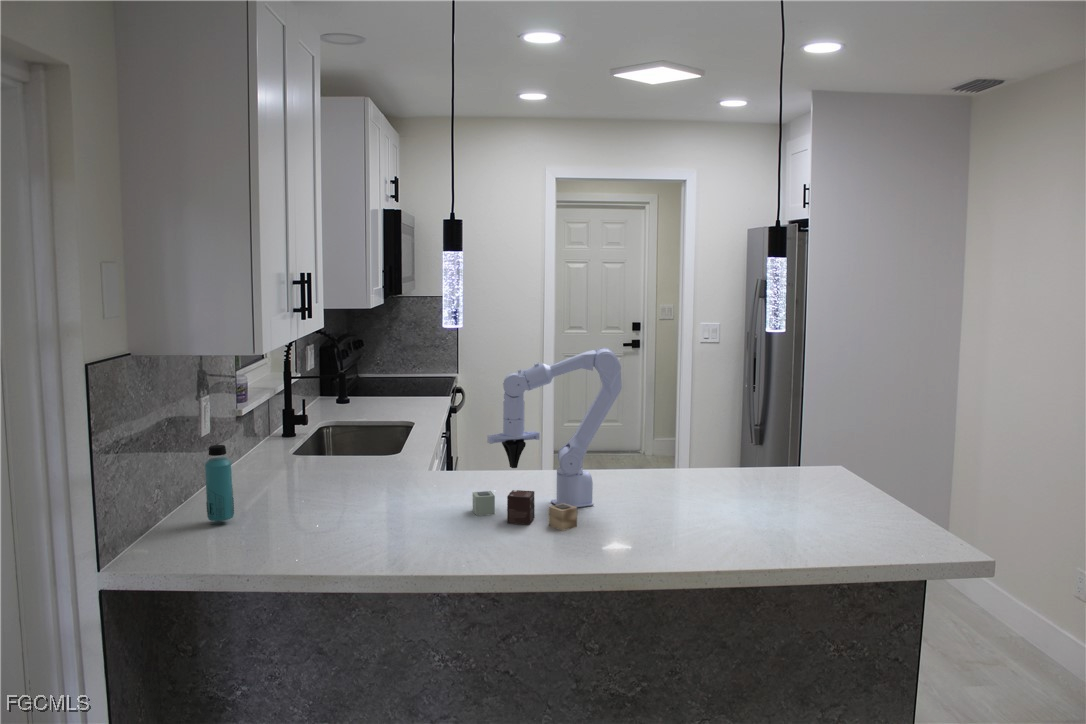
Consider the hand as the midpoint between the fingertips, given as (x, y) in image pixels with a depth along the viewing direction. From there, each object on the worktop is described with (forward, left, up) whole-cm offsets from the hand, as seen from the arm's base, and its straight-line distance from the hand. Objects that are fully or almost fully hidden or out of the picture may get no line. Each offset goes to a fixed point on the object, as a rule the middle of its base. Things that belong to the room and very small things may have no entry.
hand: (513, 467), depth 232 cm
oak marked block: (-4, +22, -11) cm, 25 cm away
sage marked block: (+10, +3, -11) cm, 15 cm away
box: (+4, +14, -11) cm, 18 cm away
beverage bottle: (+74, -15, -11) cm, 76 cm away
